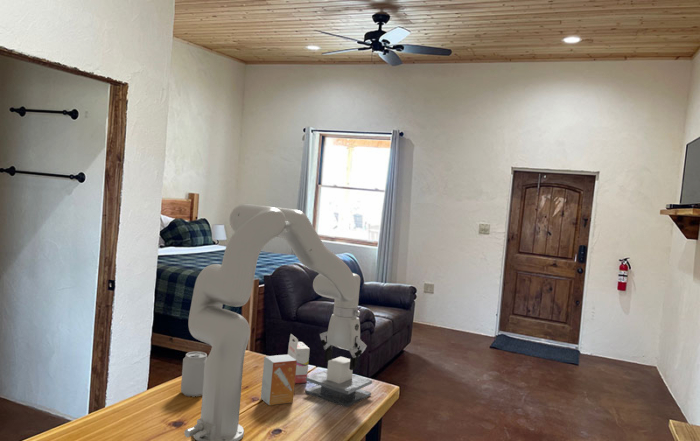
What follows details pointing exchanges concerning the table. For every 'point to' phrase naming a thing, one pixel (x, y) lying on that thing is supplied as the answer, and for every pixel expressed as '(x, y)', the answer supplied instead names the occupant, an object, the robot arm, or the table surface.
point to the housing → (339, 370)
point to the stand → (338, 389)
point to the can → (193, 373)
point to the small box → (278, 379)
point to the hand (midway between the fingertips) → (340, 365)
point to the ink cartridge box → (299, 358)
